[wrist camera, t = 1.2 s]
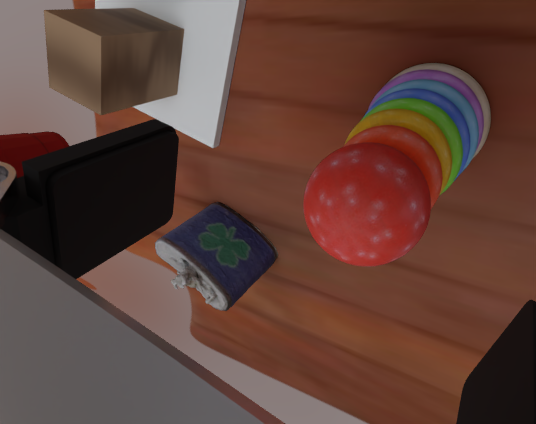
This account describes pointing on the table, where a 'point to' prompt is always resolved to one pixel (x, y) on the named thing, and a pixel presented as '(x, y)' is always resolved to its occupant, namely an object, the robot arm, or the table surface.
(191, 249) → the flask
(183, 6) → the board
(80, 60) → the pillar
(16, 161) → the plastic cup
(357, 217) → the stacking toy
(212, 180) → the table surface
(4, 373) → the robot arm
